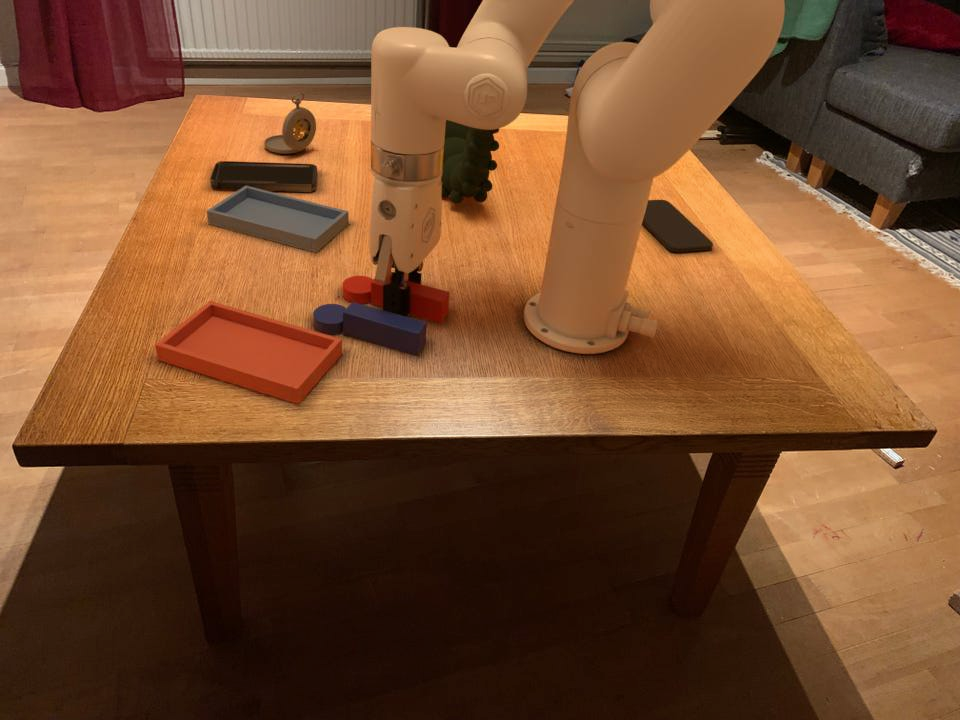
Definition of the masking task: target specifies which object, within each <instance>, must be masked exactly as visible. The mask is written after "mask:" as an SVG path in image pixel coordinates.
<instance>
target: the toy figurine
mask: <svg viewBox="0 0 960 720" xmlns="http://www.w3.org/2000/svg"><path fill="white" fill-rule="evenodd" d="M499 132H500V128H498V129H492V130H484V129H477V128H473V127H469V126H466V125H462V124H459V123H455V122H452V121H449V120H446V126H445V141H444V155H443V170H442V177H441V184H442V199H443V198H449V201H450V203H451V204H454V205H460V204H461V203H463V200H464V198H468V199H469V198H472V197H473V200H474V201H476V202H477V203H485V201H487V199H488V193H489V192H491V191H492V190H493V186H494V185H493V183H492V182H491V180H489V177H490V171H491V172H492V171H495V170H496V169H497V168H498V163H497V161H496V160H495V159H493V155H492V152H496V151H498V150H499V148H500V143H499V141H498V140H496V139H495V136H494V134H497V133H499Z"/></svg>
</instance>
